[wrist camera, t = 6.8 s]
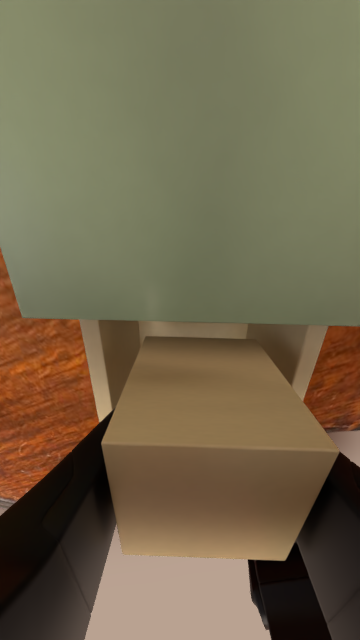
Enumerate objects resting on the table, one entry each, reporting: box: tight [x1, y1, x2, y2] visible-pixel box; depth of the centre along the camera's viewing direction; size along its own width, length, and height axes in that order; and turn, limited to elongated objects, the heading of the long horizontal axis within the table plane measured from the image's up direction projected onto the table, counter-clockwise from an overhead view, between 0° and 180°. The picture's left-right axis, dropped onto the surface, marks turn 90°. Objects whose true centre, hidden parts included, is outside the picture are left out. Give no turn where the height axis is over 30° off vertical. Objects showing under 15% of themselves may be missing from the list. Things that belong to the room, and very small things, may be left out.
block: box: [101, 336, 339, 561], centre depth 7 cm, size 5×5×5 cm
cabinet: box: [0, 0, 360, 326], centre depth 8 cm, size 15×13×10 cm
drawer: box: [79, 319, 328, 423], centre depth 13 cm, size 18×11×8 cm, turn 179°
